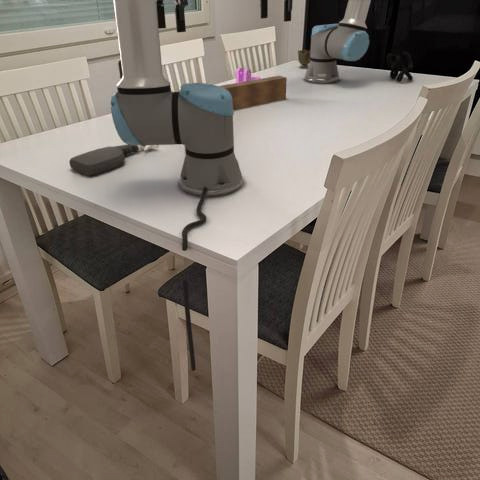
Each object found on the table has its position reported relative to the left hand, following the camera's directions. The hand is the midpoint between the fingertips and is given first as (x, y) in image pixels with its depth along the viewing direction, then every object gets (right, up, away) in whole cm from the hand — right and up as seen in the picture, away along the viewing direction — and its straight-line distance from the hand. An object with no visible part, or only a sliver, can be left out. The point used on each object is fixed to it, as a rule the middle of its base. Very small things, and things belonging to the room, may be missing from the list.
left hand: (171, 30), depth 141 cm
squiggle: (+94, +6, +59) cm, 111 cm away
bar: (+18, -17, +25) cm, 35 cm away
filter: (-16, -23, +18) cm, 33 cm away
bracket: (+26, +4, +59) cm, 65 cm away
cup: (+55, +22, +87) cm, 105 cm away
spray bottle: (-13, -44, -16) cm, 48 cm away
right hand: (+35, +13, +20) cm, 42 cm away
